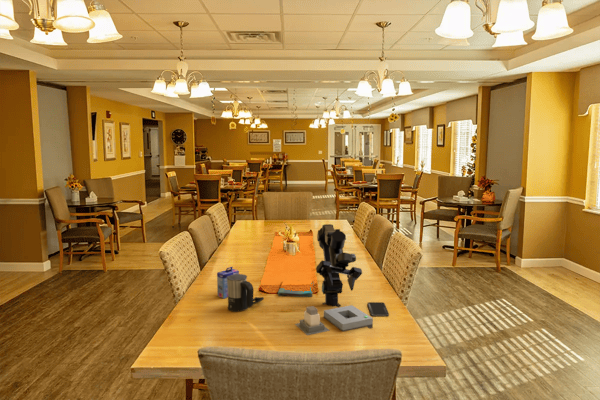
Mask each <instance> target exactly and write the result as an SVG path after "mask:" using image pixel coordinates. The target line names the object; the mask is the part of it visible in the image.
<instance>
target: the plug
mask: <svg viewBox="0 0 600 400" xmlns="http://www.w3.org/2000/svg"><path fill="white" fill-rule="evenodd" d="M305 309H306V310H304V313H303V319H304V322H305V323H306V324H307V325H308V326H310V327H312V326H317V325H320V322H321V319H320V318H321V314H320V313H319V312H318V311H319V309H318V308H317V307H316V306H314V305H311V306H306V308H305Z"/></svg>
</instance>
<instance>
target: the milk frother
mask: <svg viewBox="0 0 600 400" xmlns="http://www.w3.org/2000/svg"><path fill="white" fill-rule="evenodd" d="M247 278H248V275H246V274H243V273H239V274H234V275H230V276H227V286H228V298H227V310H228V311H230V312H237V313H238V312H242V311H247V310H248V309H249V308H251V307H253V306H254V305H255V304H258V303H260V302H262V301H264V299H265V298H264V297H263V296H262V297H261V296H260V297H257V296H255V297H254V286H253V284H252V282H250V281H247Z"/></svg>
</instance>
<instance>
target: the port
mask: <svg viewBox="0 0 600 400" xmlns="http://www.w3.org/2000/svg"><path fill="white" fill-rule="evenodd" d="M323 318H324V319H325V320H326V321H328V322H329V323H331V324H332V325H334V326H335V327H336V328H337V329H339V331H341V332H348V331H352V330H353V331H354V330H358V329H361V328H368V329H372V328H373V325H374V323H373V321H374V318H373V316H371V315H370V314H369V315H368V314H367V313H366V312H363V310H360V309H359V308H357V307H356V306H354V305H353V304H351V305H346V306H339V307H336V308H331V309H324V310H323Z"/></svg>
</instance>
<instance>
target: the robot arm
mask: <svg viewBox="0 0 600 400" xmlns="http://www.w3.org/2000/svg"><path fill="white" fill-rule="evenodd" d="M346 240H347V237H346V234H345V233H344V231H341V229H340V228H335V227H334V225H333V224H331V223H330V224H327V223H326V224H322V227H321V228H320V229H318V230H317V234H316V242H318V246H319V247H320V248H321V249H322V252H323V253H322V254H323V260H321V261H319V263H318V264H317V265H316V268H315V271H316V274H319V275H320V276H321V277H322V279H323V280H322V283H321V284H322V285H321V293H322V294H323V295H325V296H324V300H325V301H324V302H322V304H321V305H323V306H325V305H327V306H330V307H336V308H340V307H342V305H341V304H340V303H339V294H342V292H343V286H344V284H343V281H342V280H341V276H340V274H342V275H346V277H347V283H348V286H349V289H350V291H351V292H352V291H353V290H354V287H355V282H356V281H357V280H358V279H359V278H360V277H361V276H362V274H363V270H362V268H360V267H356V266H352V267H351V268H350V269H347V268H348V267H349V264H351V263H355V262H356V260H357V255H356V254H355V253H348V252H344V249H343V248H344V247H345V242H346Z"/></svg>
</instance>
